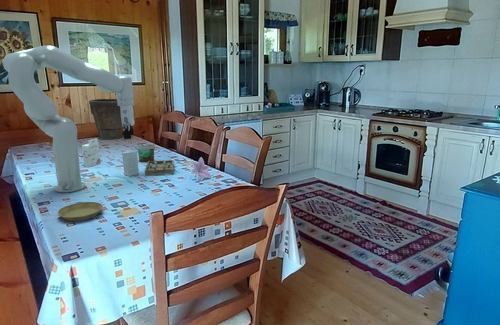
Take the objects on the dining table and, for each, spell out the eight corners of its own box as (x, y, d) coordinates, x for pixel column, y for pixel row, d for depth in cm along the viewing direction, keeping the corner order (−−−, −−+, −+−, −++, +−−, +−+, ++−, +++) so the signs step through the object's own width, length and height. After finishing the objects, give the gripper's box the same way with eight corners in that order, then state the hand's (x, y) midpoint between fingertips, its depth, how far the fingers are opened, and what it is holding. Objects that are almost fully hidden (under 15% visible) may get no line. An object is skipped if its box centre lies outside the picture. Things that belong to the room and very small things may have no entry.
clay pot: (118, 133, 298) (115, 97, 290) (132, 138, 276) (129, 99, 269) (87, 136, 282) (83, 99, 274) (98, 142, 260) (94, 101, 253)
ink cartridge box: (93, 162, 201) (90, 137, 197) (100, 162, 200) (98, 137, 197) (83, 166, 193) (80, 140, 189) (91, 166, 192) (88, 140, 188)
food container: (132, 161, 204) (131, 144, 202) (140, 159, 209) (139, 142, 207) (148, 163, 199) (147, 146, 196) (155, 161, 204) (154, 144, 201)
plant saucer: (62, 227, 117) (61, 220, 116) (55, 213, 128) (54, 207, 128) (108, 217, 125) (107, 210, 125) (97, 205, 137) (97, 199, 136)
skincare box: (134, 172, 181) (132, 150, 178) (139, 173, 179) (137, 151, 176) (123, 175, 177) (121, 151, 174) (128, 176, 174) (126, 153, 171)
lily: (187, 184, 165) (195, 169, 161) (182, 169, 174) (189, 154, 170) (209, 188, 171) (217, 173, 167) (204, 173, 180) (211, 159, 176)
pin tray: (173, 174, 178) (173, 167, 177) (145, 175, 175) (144, 168, 174) (173, 164, 197) (173, 158, 196) (148, 165, 194) (147, 159, 193)
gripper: (131, 103, 161) (135, 140, 166) (135, 100, 178) (138, 133, 182) (114, 104, 160) (118, 140, 164) (120, 101, 176) (123, 134, 181)
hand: (129, 137), depth 173 cm, fingers open, 9 cm apart
